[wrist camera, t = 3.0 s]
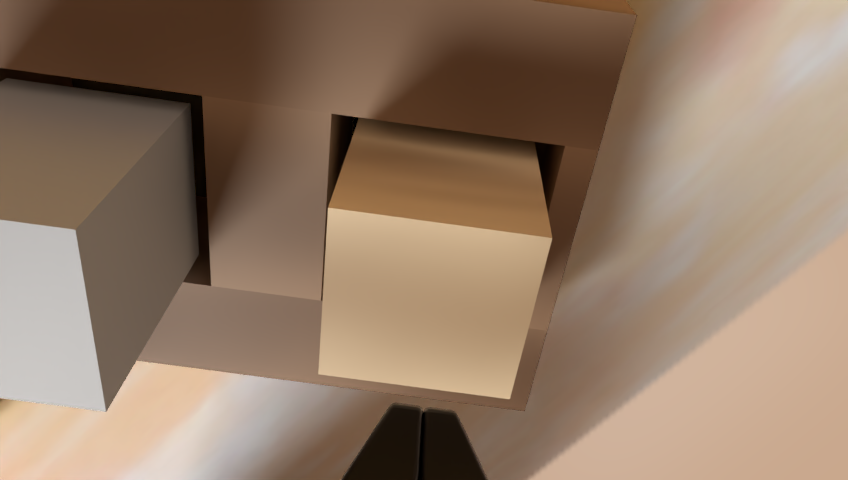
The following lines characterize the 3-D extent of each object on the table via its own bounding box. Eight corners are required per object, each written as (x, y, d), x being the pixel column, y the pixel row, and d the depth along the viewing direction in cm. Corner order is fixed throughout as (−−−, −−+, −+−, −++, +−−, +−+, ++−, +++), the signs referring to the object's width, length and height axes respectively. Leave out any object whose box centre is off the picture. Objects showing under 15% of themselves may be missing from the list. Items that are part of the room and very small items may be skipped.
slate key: (198, 254, 15) (105, 411, 11) (38, 232, 15) (-111, 383, 11) (190, 103, 13) (75, 230, 9) (6, 78, 13) (-185, 194, 9)
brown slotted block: (516, 315, 19) (524, 410, 16) (-169, 224, 19) (-289, 304, 16) (602, -31, 14) (636, 15, 11) (-318, -163, 14) (-531, -151, 11)
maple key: (500, 257, 16) (510, 399, 12) (353, 238, 16) (318, 373, 12) (531, 121, 14) (552, 238, 11) (365, 98, 14) (327, 207, 11)
